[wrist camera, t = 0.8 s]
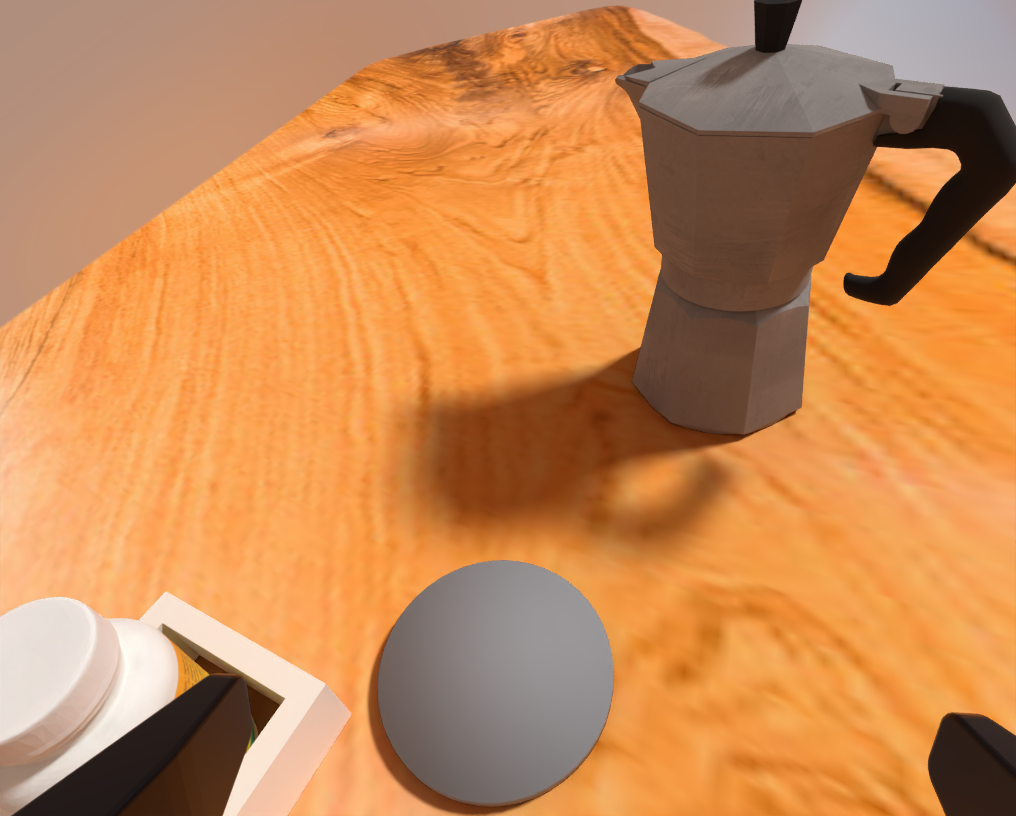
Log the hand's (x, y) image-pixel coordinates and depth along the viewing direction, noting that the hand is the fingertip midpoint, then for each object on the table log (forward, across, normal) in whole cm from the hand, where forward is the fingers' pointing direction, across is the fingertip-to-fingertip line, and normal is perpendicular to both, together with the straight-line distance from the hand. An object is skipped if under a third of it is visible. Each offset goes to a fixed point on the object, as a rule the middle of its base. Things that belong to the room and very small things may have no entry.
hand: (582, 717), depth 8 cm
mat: (+13, +2, +11) cm, 17 cm away
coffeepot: (+26, -10, +4) cm, 28 cm away
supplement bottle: (+10, +13, +14) cm, 22 cm away
